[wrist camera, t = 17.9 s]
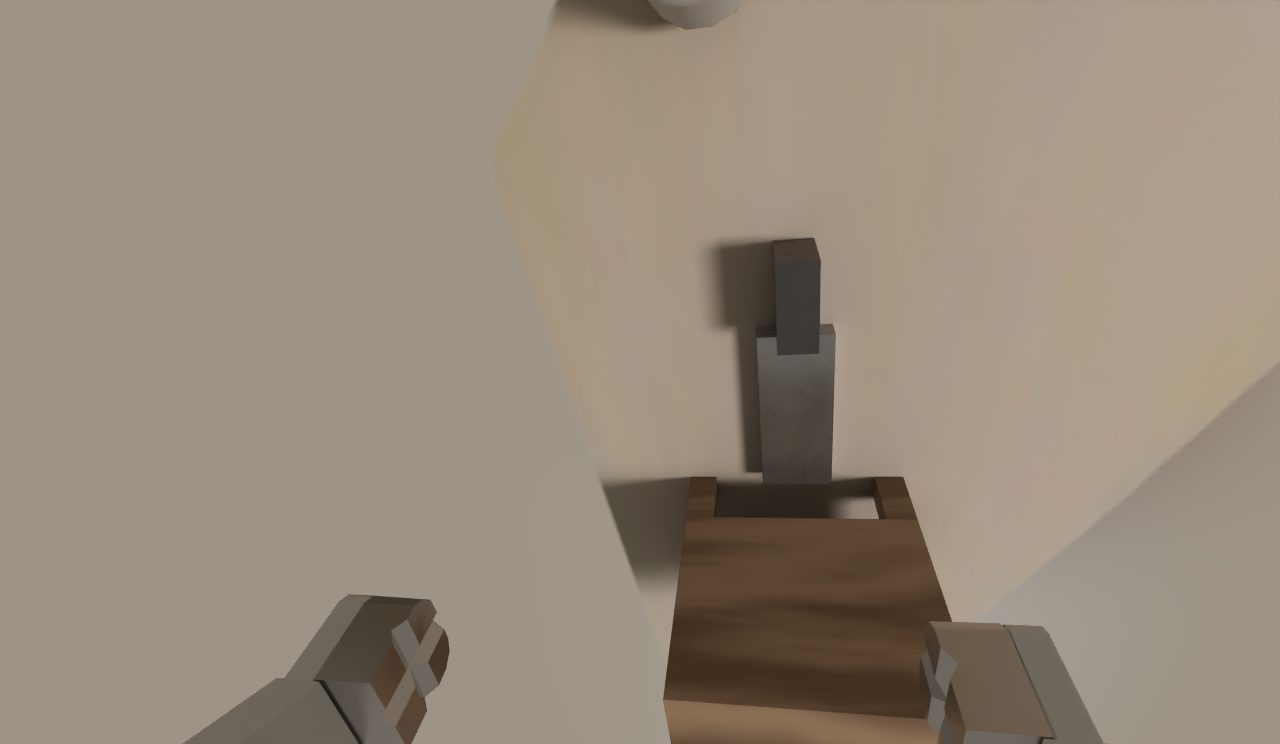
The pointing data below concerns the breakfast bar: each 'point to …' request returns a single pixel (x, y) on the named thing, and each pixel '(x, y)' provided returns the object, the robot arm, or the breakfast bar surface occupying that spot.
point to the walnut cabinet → (801, 626)
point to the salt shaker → (695, 11)
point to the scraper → (796, 372)
